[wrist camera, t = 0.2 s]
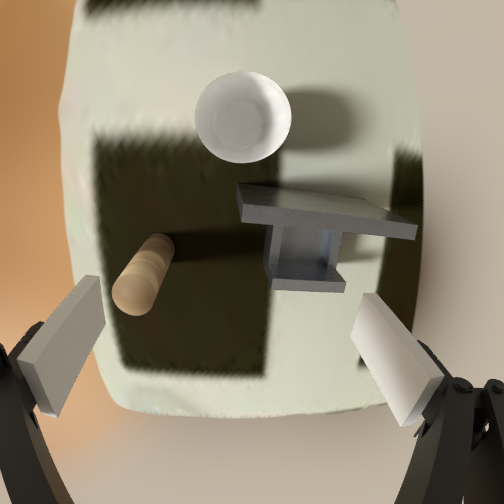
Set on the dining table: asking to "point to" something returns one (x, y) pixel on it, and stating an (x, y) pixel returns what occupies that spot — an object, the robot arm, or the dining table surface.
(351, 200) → the bracket
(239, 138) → the cup
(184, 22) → the dining table surface
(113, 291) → the wooden dowel
